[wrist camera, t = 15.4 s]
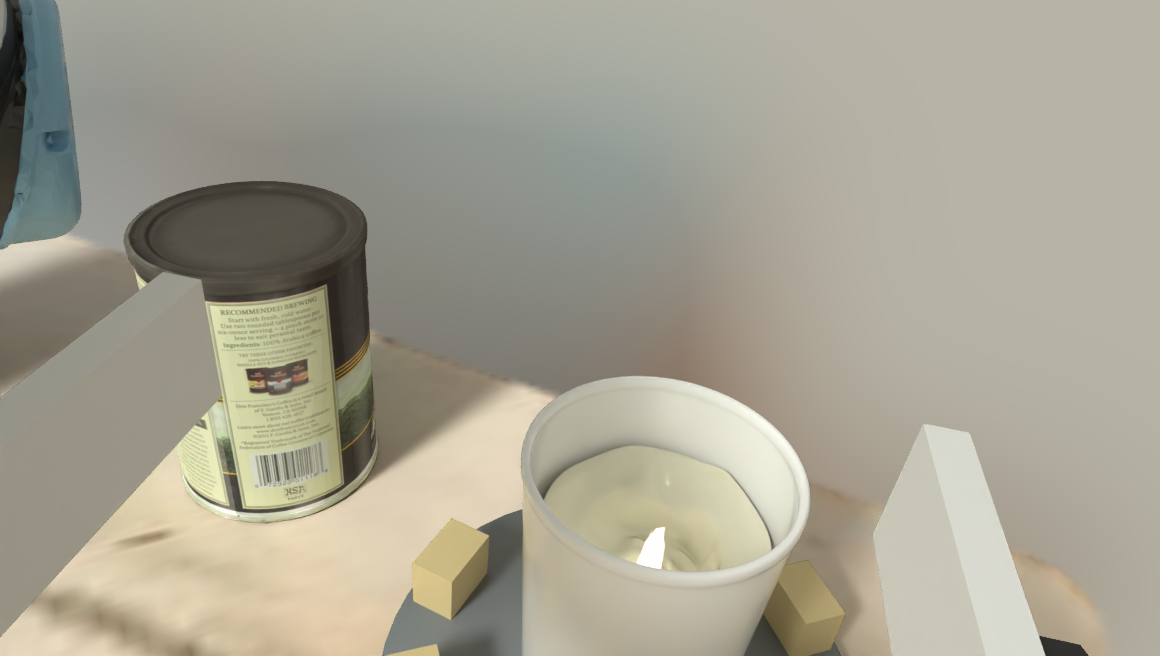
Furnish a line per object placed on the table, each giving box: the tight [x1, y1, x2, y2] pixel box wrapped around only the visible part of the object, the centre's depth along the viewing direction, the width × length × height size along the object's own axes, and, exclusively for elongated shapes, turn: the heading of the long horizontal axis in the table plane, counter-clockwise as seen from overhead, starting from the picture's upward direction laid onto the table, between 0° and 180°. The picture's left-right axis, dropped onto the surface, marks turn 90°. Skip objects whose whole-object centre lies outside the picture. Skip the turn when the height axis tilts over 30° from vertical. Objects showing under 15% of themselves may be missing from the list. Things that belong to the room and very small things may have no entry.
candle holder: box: [521, 376, 811, 656], centre depth 30 cm, size 10×10×12 cm
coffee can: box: [124, 181, 378, 523], centre depth 40 cm, size 10×10×14 cm
